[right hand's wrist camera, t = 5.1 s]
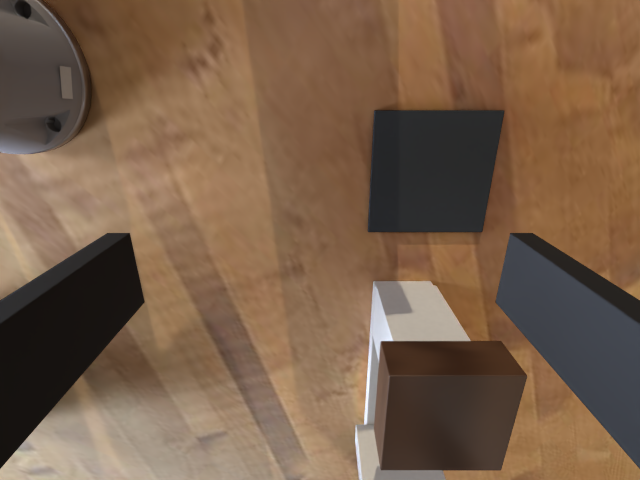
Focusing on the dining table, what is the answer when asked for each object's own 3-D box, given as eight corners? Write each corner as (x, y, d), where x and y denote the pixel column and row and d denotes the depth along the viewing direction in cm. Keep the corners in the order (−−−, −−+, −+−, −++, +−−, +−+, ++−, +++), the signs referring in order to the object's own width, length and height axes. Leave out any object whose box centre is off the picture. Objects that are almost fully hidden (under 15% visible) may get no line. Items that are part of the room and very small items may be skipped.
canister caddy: (420, 434, 52) (453, 545, 39) (353, 434, 52) (364, 545, 39) (443, 277, 43) (497, 355, 30) (361, 277, 43) (379, 355, 30)
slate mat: (367, 230, 40) (368, 232, 40) (374, 110, 36) (375, 110, 35) (480, 230, 40) (482, 232, 40) (502, 110, 36) (504, 110, 35)
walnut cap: (373, 428, 33) (380, 470, 29) (380, 340, 29) (389, 375, 25) (480, 428, 33) (501, 470, 29) (501, 340, 29) (527, 375, 25)
